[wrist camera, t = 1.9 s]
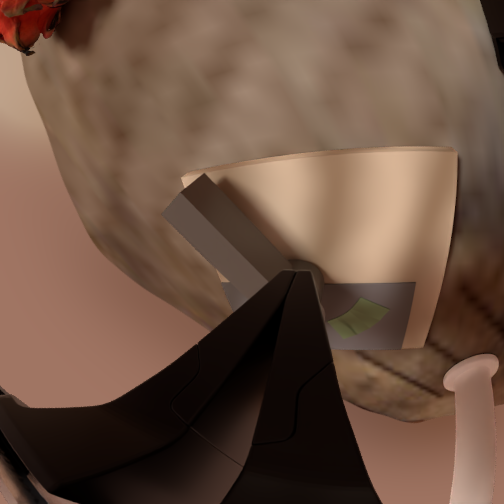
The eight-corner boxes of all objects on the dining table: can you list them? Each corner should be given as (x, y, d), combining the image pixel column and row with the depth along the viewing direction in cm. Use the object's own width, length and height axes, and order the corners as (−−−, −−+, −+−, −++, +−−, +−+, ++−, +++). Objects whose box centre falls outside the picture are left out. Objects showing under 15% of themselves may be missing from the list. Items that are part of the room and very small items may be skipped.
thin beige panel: (451, 147, 11) (458, 152, 10) (421, 338, 19) (423, 349, 18) (188, 172, 17) (179, 178, 16) (250, 333, 26) (246, 343, 25)
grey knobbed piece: (343, 290, 17) (338, 329, 15) (252, 326, 23) (239, 358, 20) (222, 155, 14) (193, 177, 12) (151, 232, 20) (125, 258, 17)
